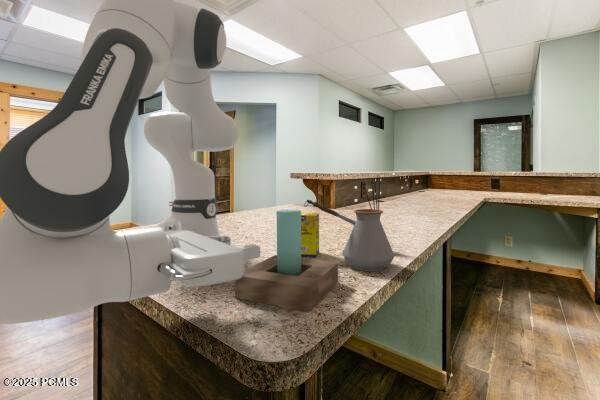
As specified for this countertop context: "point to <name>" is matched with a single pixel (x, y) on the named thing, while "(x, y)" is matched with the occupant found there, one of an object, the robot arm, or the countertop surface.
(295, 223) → the peg
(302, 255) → the supplement box
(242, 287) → the socket block
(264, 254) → the countertop surface
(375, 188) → the reed diffuser
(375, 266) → the coffee pot
